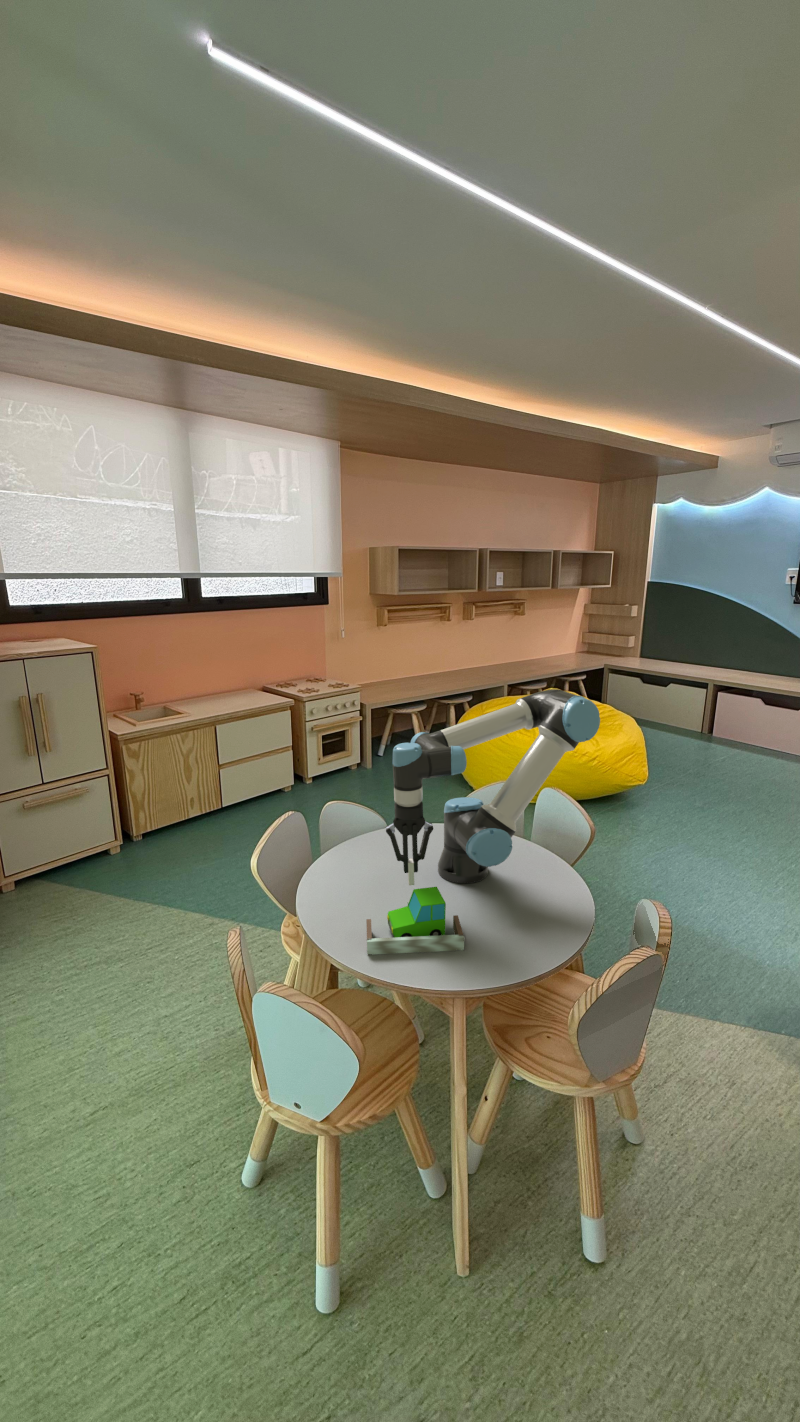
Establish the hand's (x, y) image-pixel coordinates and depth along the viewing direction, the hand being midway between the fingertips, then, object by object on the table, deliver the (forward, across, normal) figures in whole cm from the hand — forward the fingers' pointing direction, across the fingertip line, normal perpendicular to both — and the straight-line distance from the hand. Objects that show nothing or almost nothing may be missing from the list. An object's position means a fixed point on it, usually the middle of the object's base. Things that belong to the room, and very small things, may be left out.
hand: (411, 882), depth 165 cm
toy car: (+7, 0, +13) cm, 15 cm away
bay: (+7, +1, +16) cm, 18 cm away
